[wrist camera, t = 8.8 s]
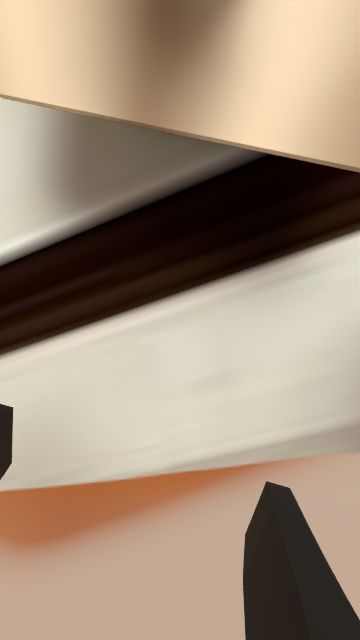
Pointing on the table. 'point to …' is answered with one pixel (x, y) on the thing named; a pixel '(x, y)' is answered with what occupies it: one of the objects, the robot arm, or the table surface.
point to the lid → (196, 69)
